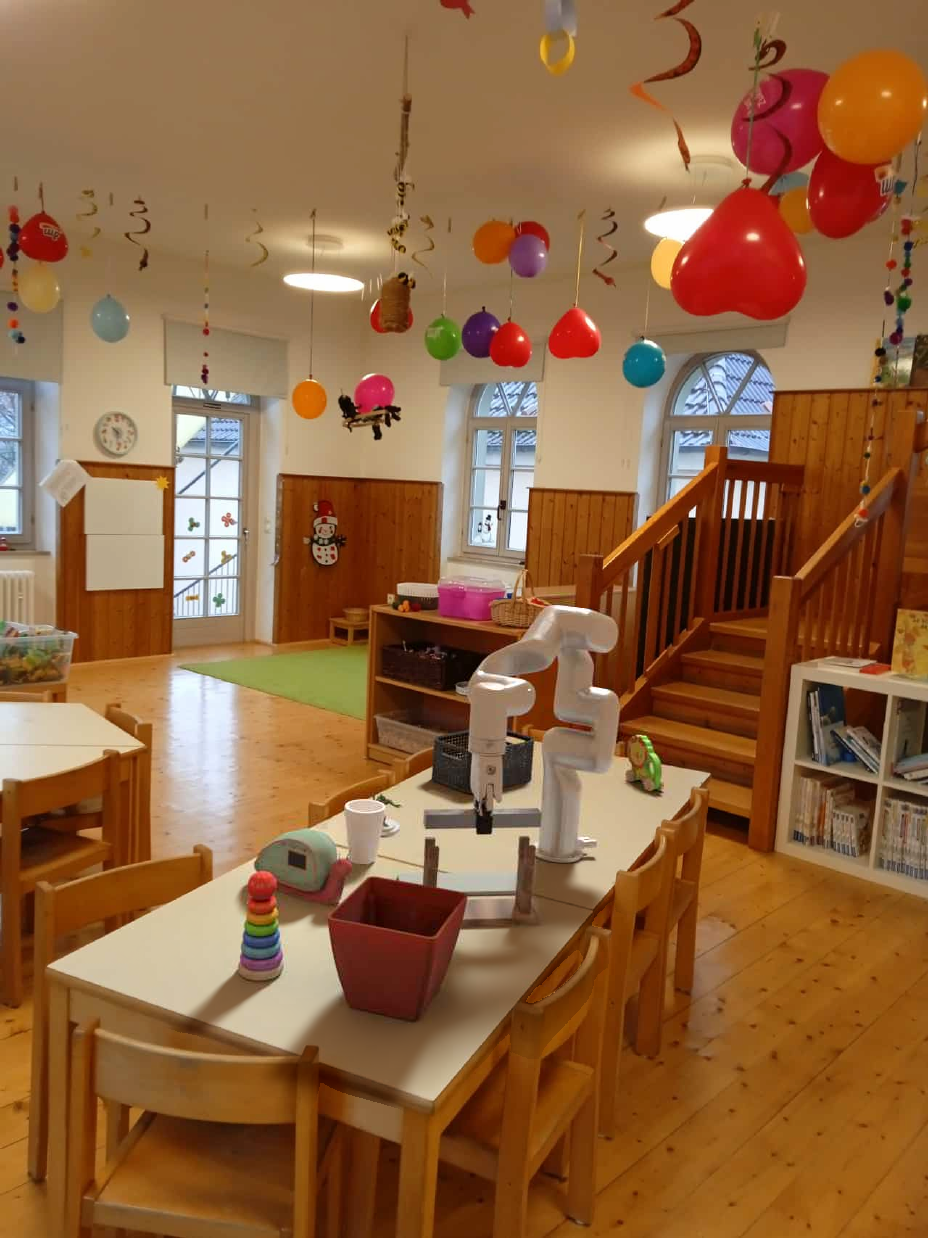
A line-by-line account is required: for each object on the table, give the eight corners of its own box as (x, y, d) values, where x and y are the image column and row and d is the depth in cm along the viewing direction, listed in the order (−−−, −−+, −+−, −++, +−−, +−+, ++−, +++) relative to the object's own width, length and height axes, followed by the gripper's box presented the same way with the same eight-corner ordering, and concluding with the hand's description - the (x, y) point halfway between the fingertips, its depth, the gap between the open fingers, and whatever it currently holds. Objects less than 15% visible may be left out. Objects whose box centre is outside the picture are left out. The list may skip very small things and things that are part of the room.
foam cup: (389, 856, 223) (391, 803, 221) (372, 870, 215) (375, 815, 213) (353, 848, 226) (355, 797, 224) (335, 862, 218) (338, 808, 216)
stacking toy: (241, 960, 171) (244, 862, 169) (285, 960, 172) (289, 863, 169) (234, 982, 163) (237, 880, 161) (280, 983, 164) (284, 881, 161)
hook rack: (528, 905, 201) (533, 833, 199) (539, 924, 193) (544, 850, 190) (412, 907, 197) (417, 834, 194) (418, 927, 188) (423, 851, 186)
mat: (517, 875, 217) (518, 872, 217) (528, 893, 207) (528, 890, 207) (397, 877, 211) (397, 873, 211) (402, 896, 202) (402, 892, 202)
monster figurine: (361, 839, 233) (363, 799, 231) (346, 822, 244) (348, 784, 242) (406, 834, 238) (408, 795, 236) (390, 818, 249) (392, 781, 247)
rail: (537, 822, 196) (537, 808, 196) (540, 827, 193) (541, 813, 193) (423, 823, 192) (424, 809, 191) (425, 829, 189) (426, 814, 188)
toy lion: (664, 792, 286) (669, 743, 284) (649, 793, 284) (654, 744, 282) (634, 776, 300) (638, 730, 298) (620, 777, 298) (624, 731, 296)
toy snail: (248, 882, 204) (250, 821, 202) (272, 871, 211) (274, 812, 209) (337, 915, 191) (340, 850, 189) (360, 902, 198) (363, 840, 196)
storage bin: (490, 764, 304) (493, 724, 302) (536, 780, 291) (539, 738, 289) (426, 780, 283) (428, 737, 282) (472, 797, 270) (475, 752, 268)
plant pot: (365, 960, 174) (369, 873, 172) (463, 981, 169) (469, 892, 166) (320, 1013, 156) (324, 917, 153) (429, 1038, 150) (435, 939, 148)
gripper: (514, 756, 182) (508, 846, 185) (496, 732, 198) (491, 815, 201) (476, 756, 181) (471, 846, 184) (461, 732, 197) (457, 816, 200)
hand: (482, 829), depth 192 cm, fingers closed on rail, 3 cm apart
